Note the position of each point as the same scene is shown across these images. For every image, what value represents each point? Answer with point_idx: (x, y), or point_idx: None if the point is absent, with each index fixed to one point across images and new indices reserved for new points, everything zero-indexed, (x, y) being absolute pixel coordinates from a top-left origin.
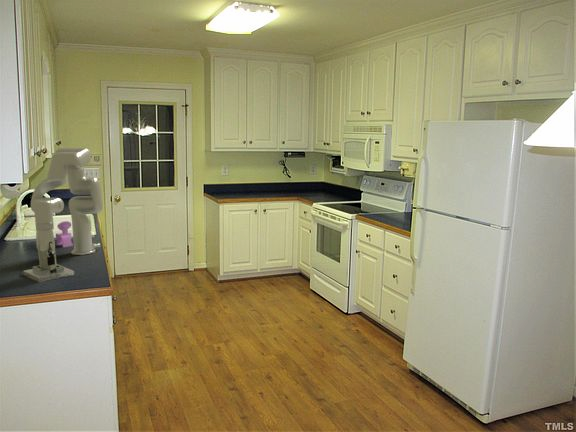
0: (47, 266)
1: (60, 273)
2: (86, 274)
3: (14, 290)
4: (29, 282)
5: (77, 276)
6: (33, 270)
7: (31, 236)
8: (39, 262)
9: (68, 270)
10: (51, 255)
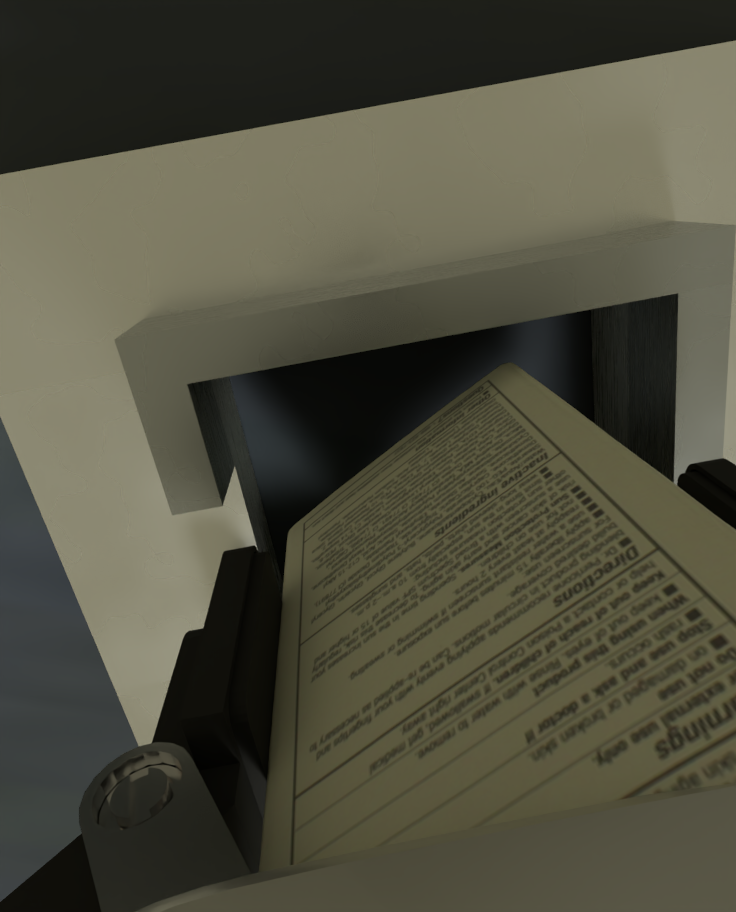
0: (350, 519)
1: (90, 620)
2: None
3: None
4: (63, 5)
5: (59, 761)
6: (636, 231)
7: None
8: (572, 411)
9: None
10: (59, 894)
